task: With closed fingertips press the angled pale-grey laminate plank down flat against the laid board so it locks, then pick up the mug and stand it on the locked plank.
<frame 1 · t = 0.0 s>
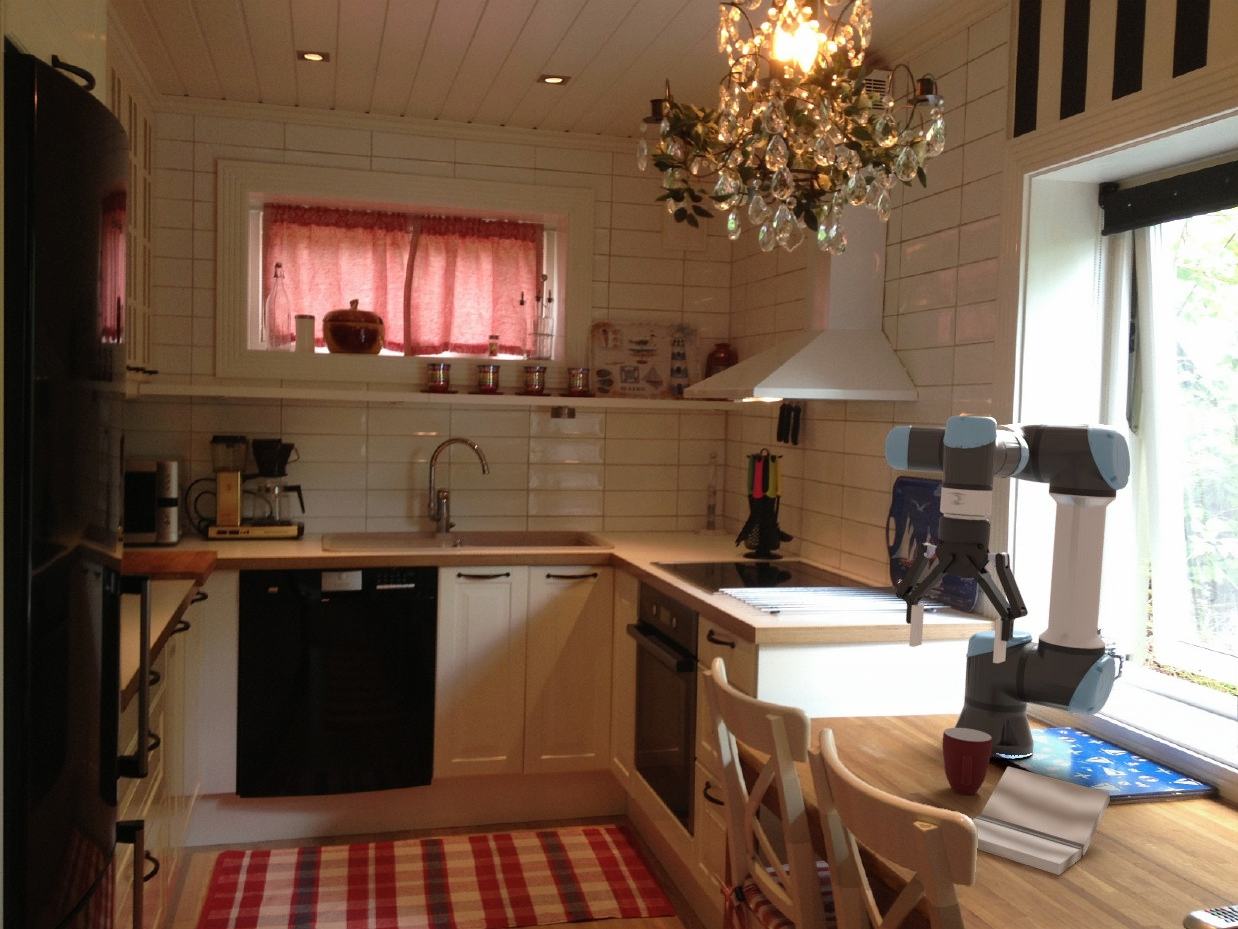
hand: (956, 653, 167), 28 cm above the table, fingers open, 13 cm apart
mug: (965, 795, 186), on the table
laid board: (1016, 849, 162), on the table
plank: (1043, 808, 170), point 4 cm above the table, hinge at 30.0°
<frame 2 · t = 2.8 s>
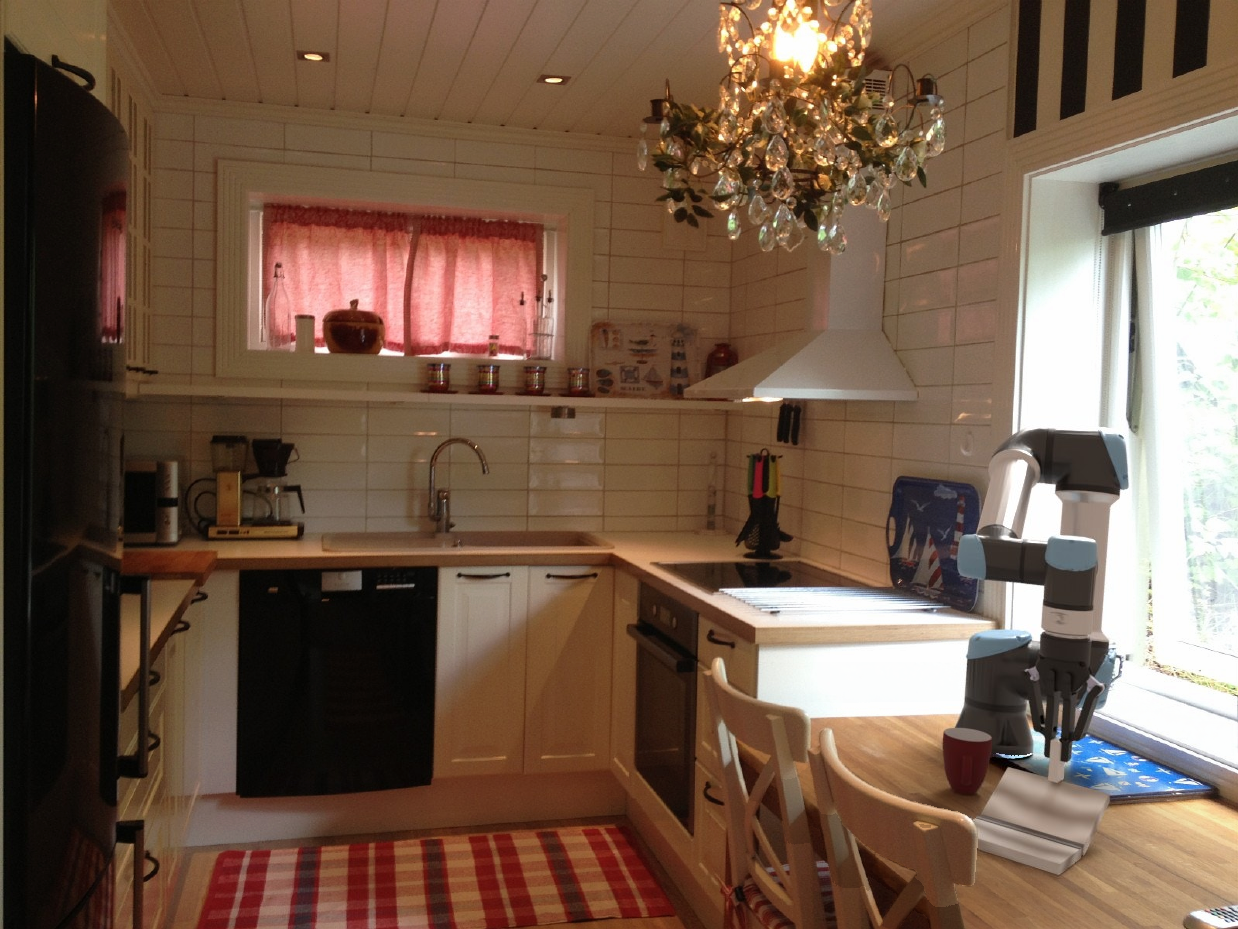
hand: (1055, 779, 173), 7 cm above the table, fingers closed
plank: (1043, 809, 170), point 4 cm above the table, hinge at 29.0°, touching gripper
everything else where it was.
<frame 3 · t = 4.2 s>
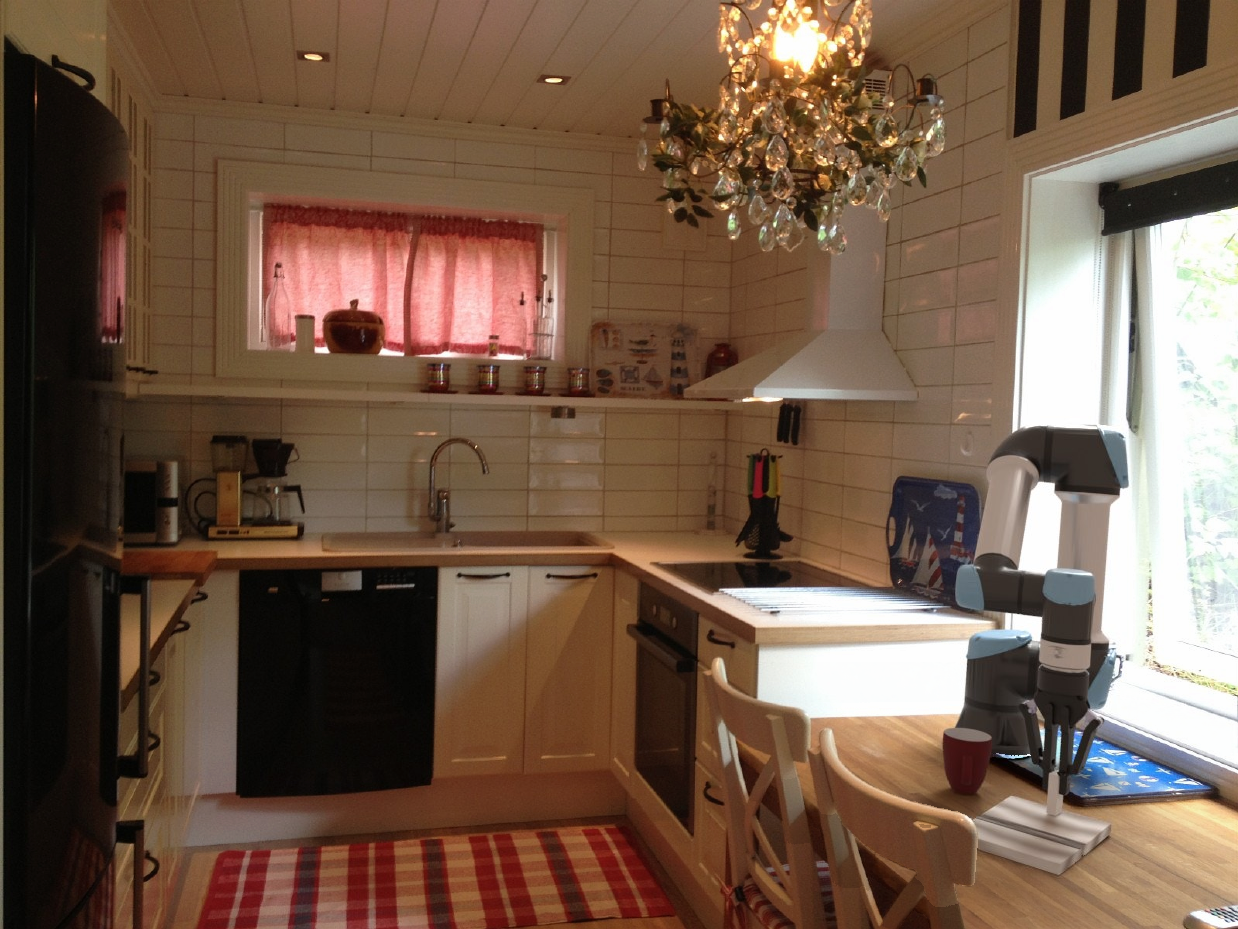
hand: (1054, 812, 173), 2 cm above the table, fingers closed
plank: (1045, 823, 171), point 1 cm above the table, hinge at 1.6°, touching gripper
everything else where it was.
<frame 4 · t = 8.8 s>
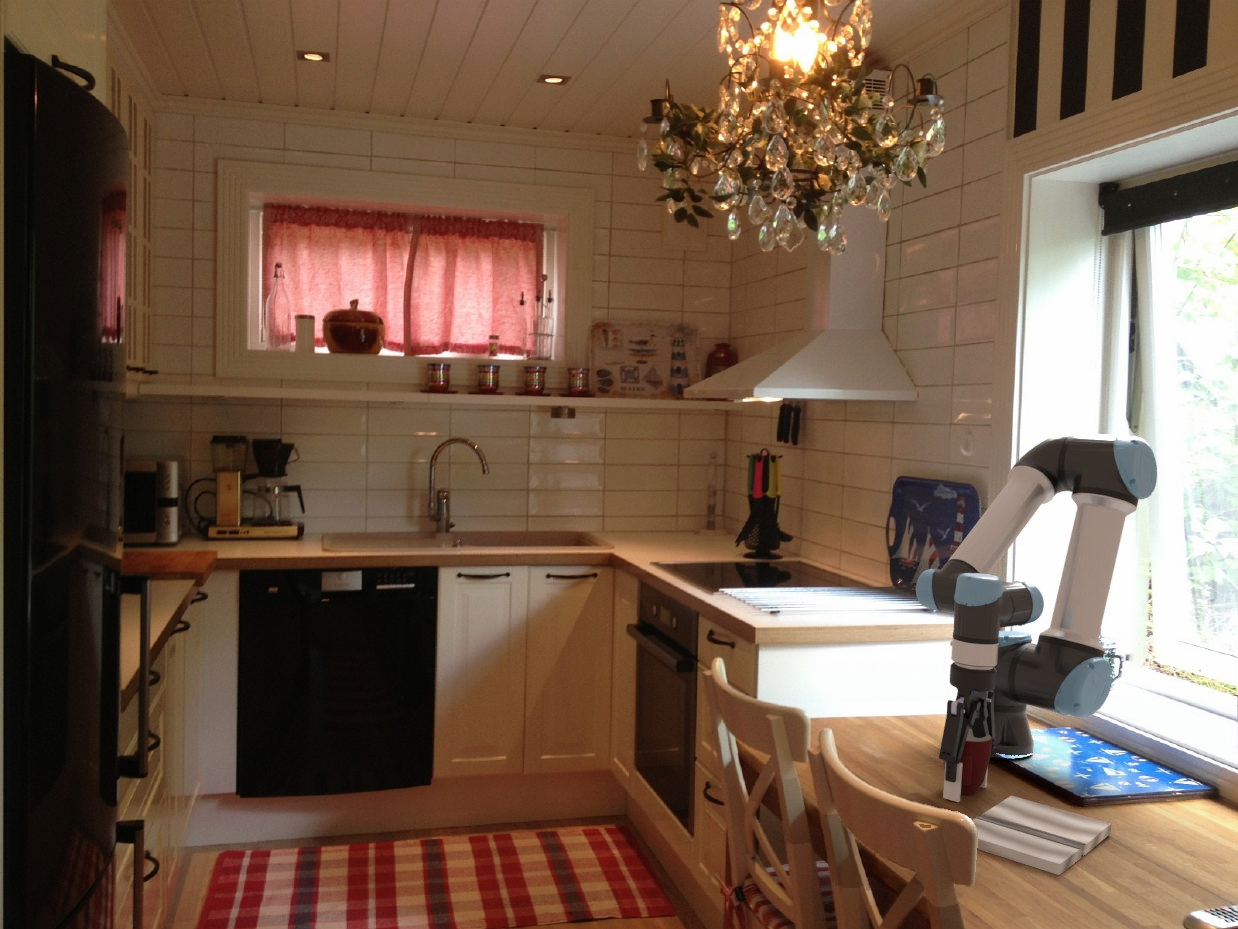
hand: (965, 792, 186), 0 cm above the table, fingers closed on mug, 10 cm apart
mug: (965, 795, 186), on the table, touching gripper
plank: (1045, 823, 171), point 1 cm above the table, hinge at 1.6°
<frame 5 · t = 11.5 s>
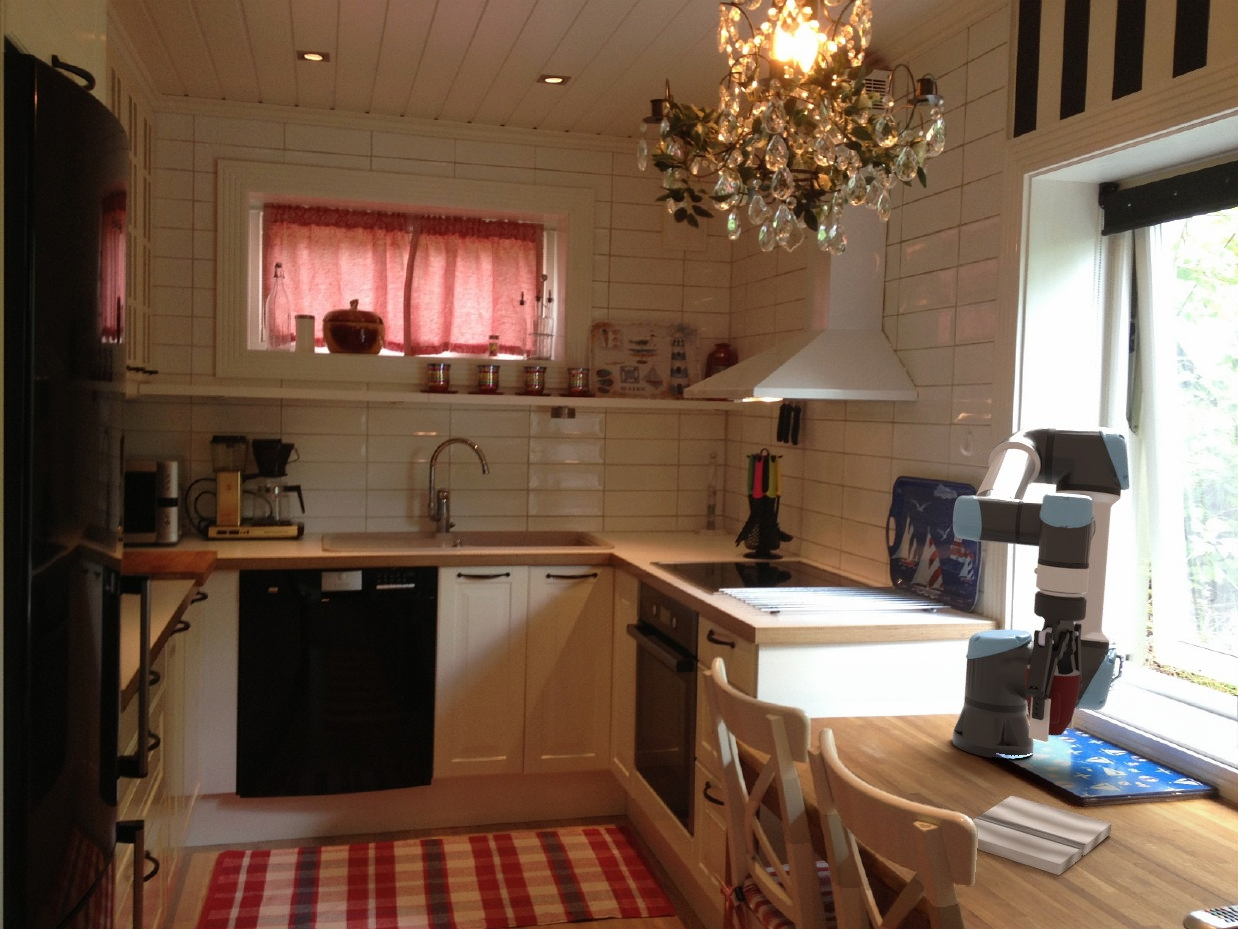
hand: (1051, 733, 170), 16 cm above the table, fingers closed on mug, 10 cm apart
mug: (1050, 735, 170), point 15 cm above the table, touching gripper
everything else where it was.
when the fingers open (3 cm above the table, at t = 14.3 s): mug stays where it is, resting on plank.
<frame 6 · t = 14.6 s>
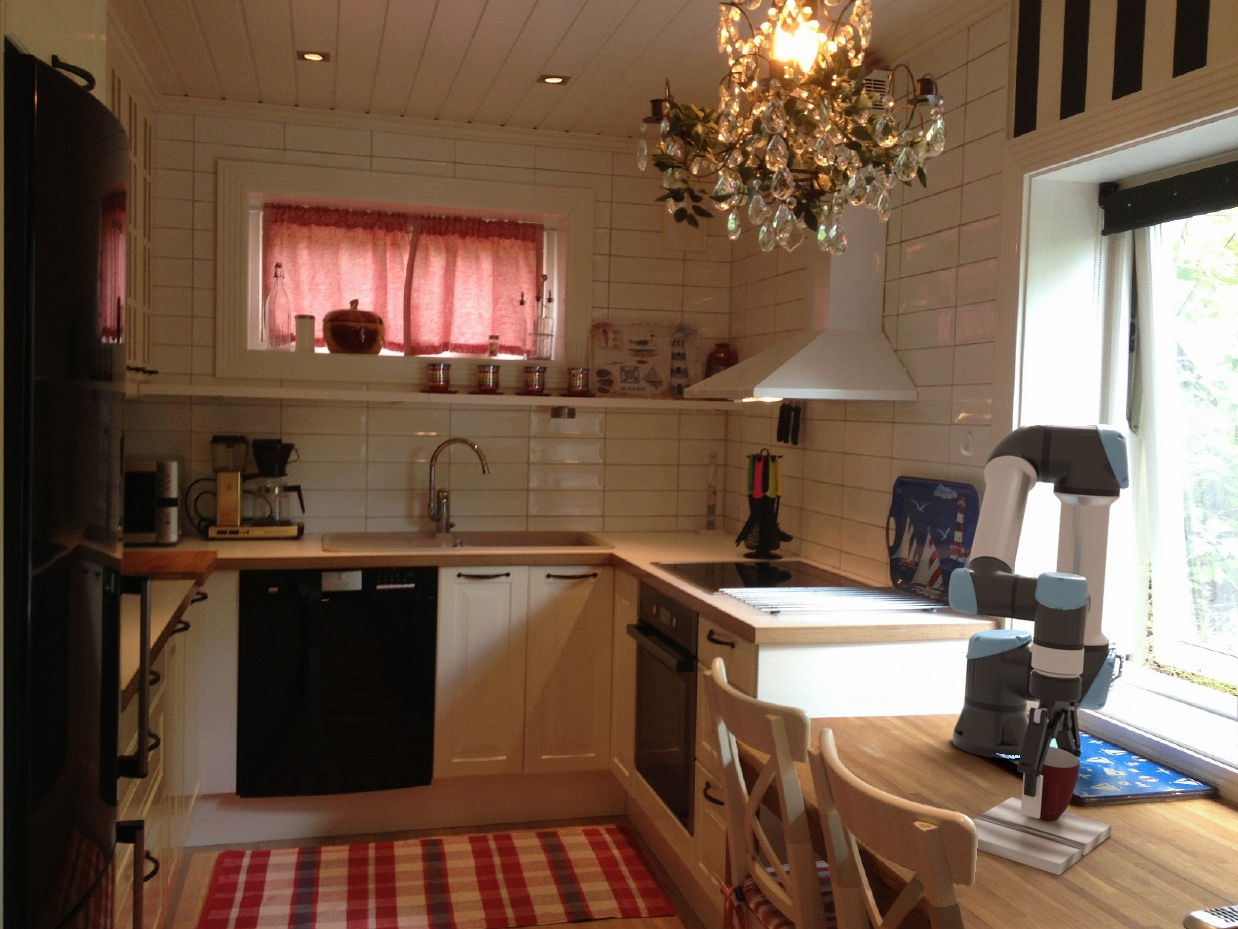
hand: (1046, 805, 171), 4 cm above the table, fingers open, 13 cm apart
mug: (1046, 820, 171), point 2 cm above the table, touching plank
plank: (1045, 824, 171), point 1 cm above the table, hinge at 0.3°, touching mug
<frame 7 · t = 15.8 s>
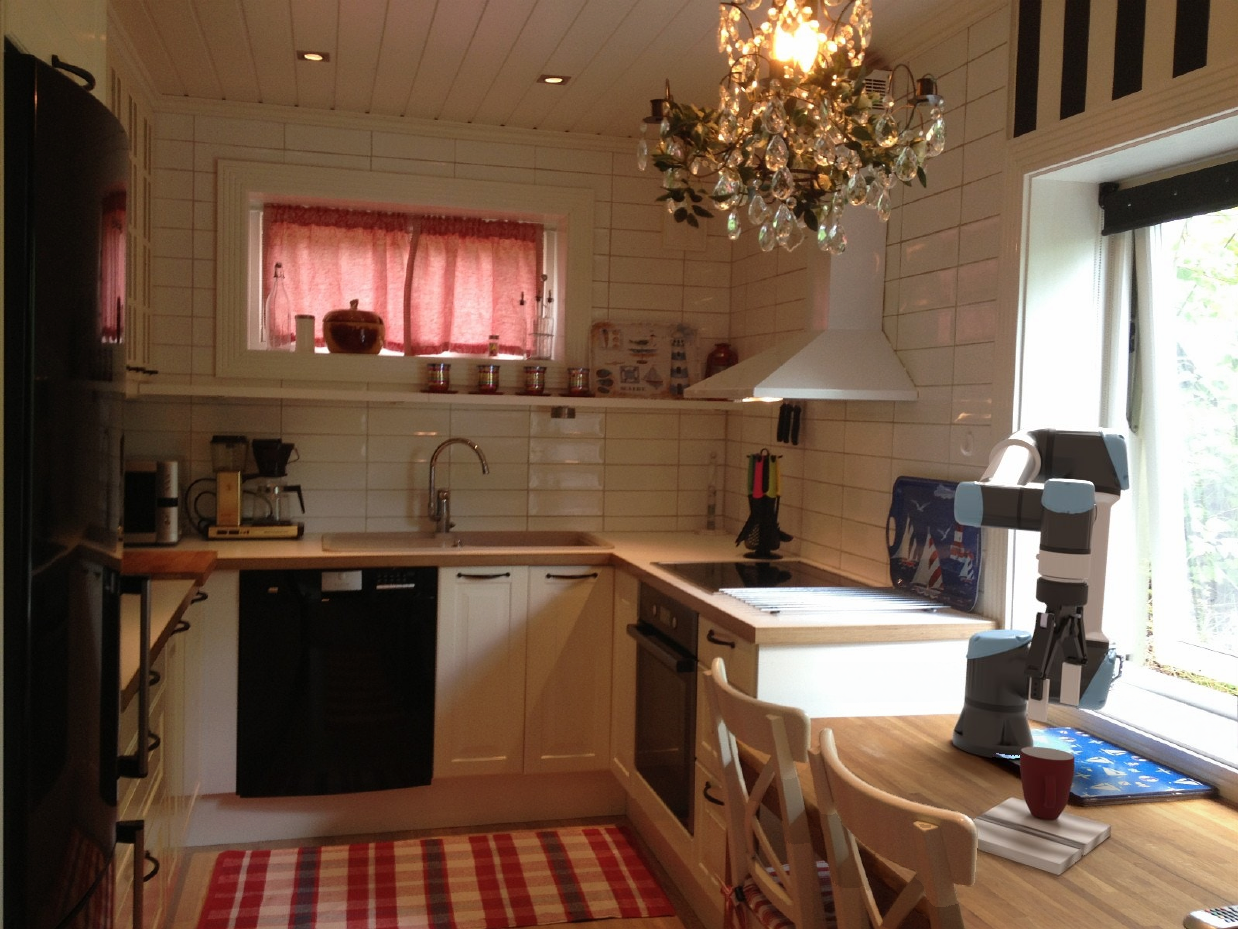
hand: (1053, 712, 170), 19 cm above the table, fingers open, 13 cm apart
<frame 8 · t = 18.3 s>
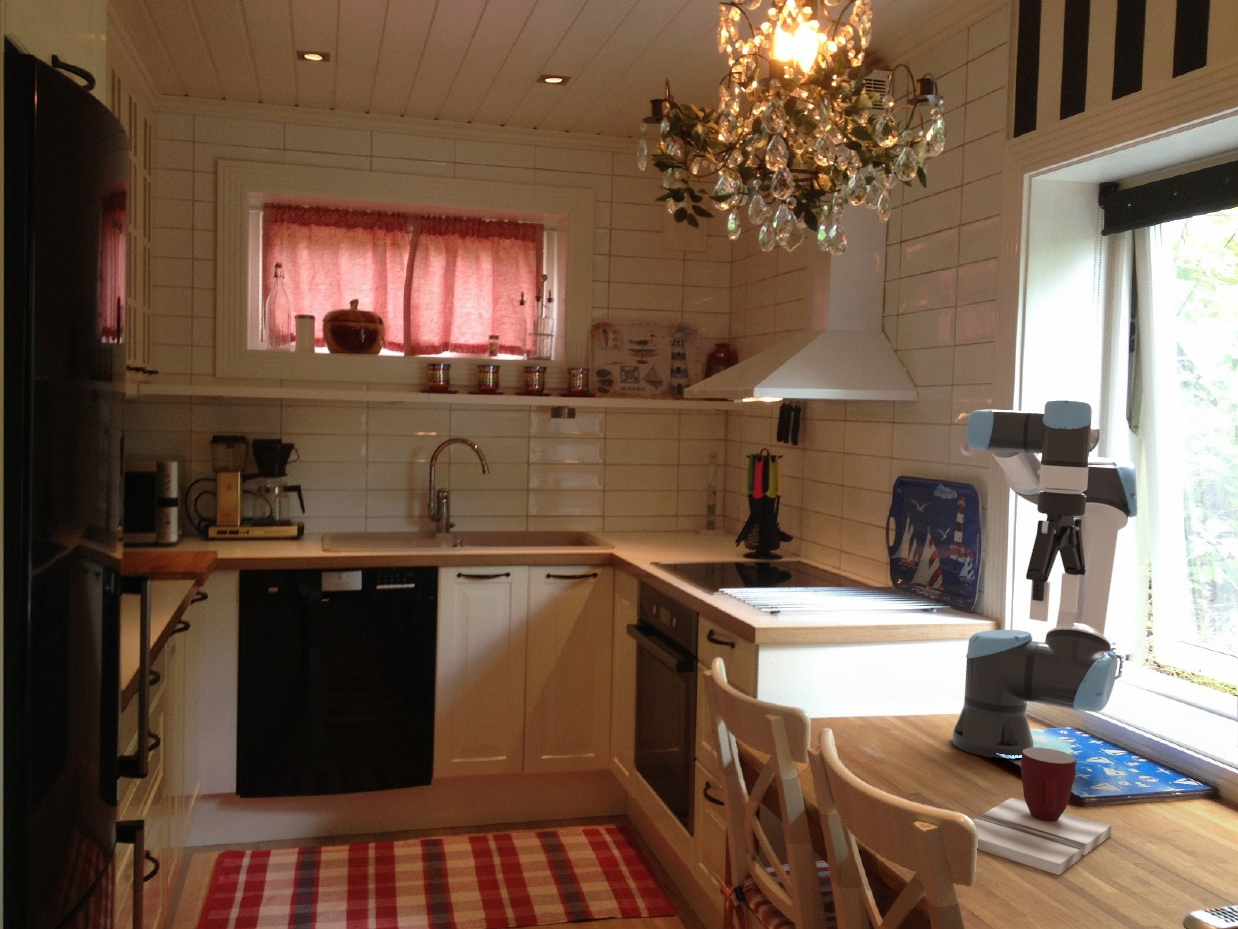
hand: (1053, 615, 184), 32 cm above the table, fingers open, 13 cm apart
plank: (1045, 825, 171), point 1 cm above the table, hinge at -0.2°, touching mug
everything else where it was.
at the end: plank at +0° (first picture: +30°); mug inside the target area on the plank (0.2 cm from its centre), point 1.4 cm above the plank's base; mug tilted 0° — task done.
